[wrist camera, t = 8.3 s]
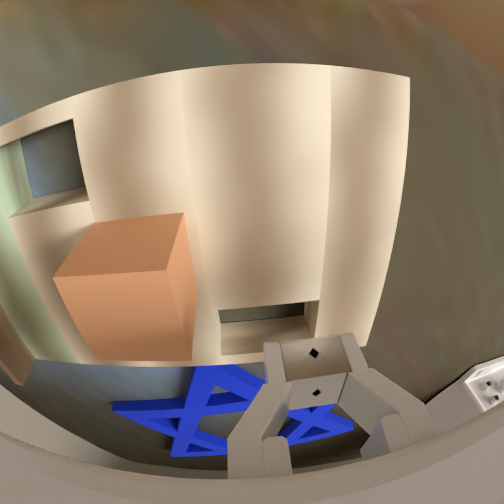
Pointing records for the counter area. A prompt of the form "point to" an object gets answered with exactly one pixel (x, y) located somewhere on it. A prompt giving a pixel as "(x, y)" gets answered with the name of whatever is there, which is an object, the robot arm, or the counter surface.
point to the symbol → (206, 403)
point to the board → (217, 202)
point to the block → (133, 289)
